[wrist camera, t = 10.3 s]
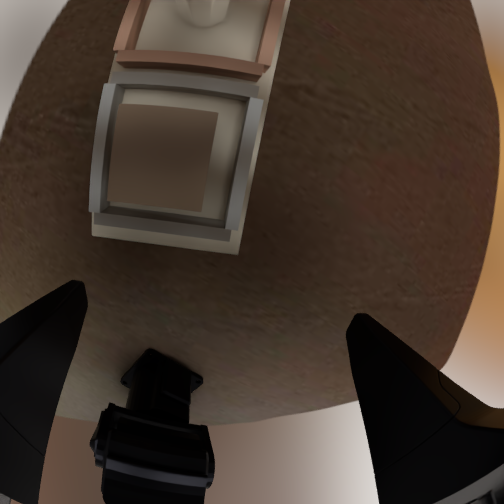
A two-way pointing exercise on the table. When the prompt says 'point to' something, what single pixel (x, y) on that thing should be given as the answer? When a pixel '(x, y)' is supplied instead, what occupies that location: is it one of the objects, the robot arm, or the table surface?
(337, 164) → the table surface
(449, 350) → the table surface
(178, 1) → the milkshake
